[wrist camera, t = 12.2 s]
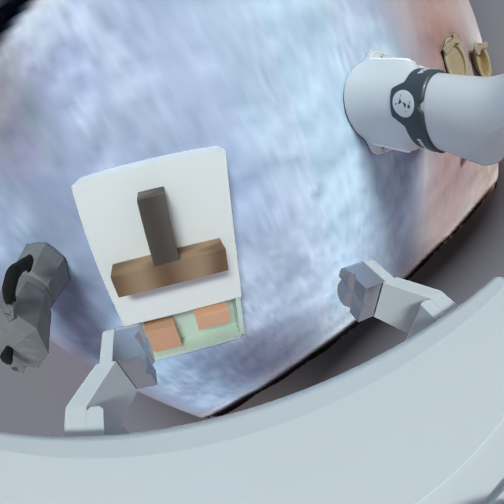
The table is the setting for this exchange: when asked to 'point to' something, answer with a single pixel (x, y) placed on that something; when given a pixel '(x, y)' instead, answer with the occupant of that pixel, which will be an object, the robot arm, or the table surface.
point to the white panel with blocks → (182, 220)
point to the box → (204, 331)
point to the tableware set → (465, 57)
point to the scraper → (165, 252)
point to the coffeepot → (30, 305)
